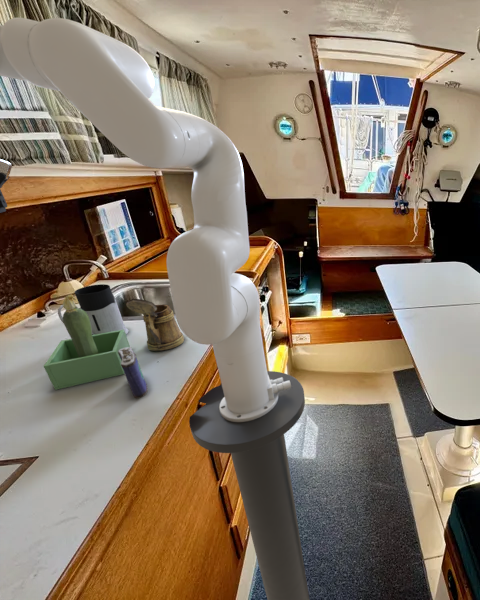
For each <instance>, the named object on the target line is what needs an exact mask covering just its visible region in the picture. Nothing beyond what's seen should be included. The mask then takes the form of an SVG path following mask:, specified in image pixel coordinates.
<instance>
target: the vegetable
mask: <svg viewBox="0 0 480 600" xmlns="http://www.w3.org/2000/svg"><path fill="white" fill-rule="evenodd" d="M76 299H77V298H76V297H74V295H73V294H72V293H70V294H68V295H66V296H64V299H63V301H62V305H63V309H64V310H65V311H64V312H63V314H62V317H63V322H62V324H63V325H64V327H65V328H66V331H67V333H68V335H69V337H70V339H72V341H73V343H74V346H75V348H76V351H77V354H78V356H79V358H80V357H85V356H90V355H95V354H99V353H98V350H97V347H96V345H95V343H94V340H93V337H92V332H91V324H90V319H89V317H88V315H87V313H86V312H85V311H84V310H82V309H80V308H81V307H77V308H76V306H77V304H76V302H75V301H76Z"/></svg>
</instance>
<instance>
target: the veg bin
mask: <svg viewBox="0 0 480 600" xmlns="http://www.w3.org/2000/svg"><path fill="white" fill-rule="evenodd" d="M92 337H93V340H94V343H95V345H96V347H97V350H98V353H99V354H95V355H90V356H85V357H80V358H79V356H78V354H77V351H76V348H75V346H74V343H73V341H72V339H71V338H67V339H62V340H60V342H59V343H58V344H57V346H56V348H55V349H54V350H53V352H52V353H51V355H50V356H49V357H48V359H47V360H46V362H45V363H44V365H43V368H44V370H45V373H46V375H47V377H48V379H49V380H50V382H51V385H52V386H53V388H54V390H55V391H57V390H61V389H65V388H69V387H73V386H78V385H82V384H87V383H91V382H96V381H100V380H105V379H109V378H114V377H117V376H121V375H125V373H124V370H123V368H122V366H121V362H122V361H121V358H120V356H119V354H118V350H120V349H122V348H125V347H131V345H130V342H129V338H128V336H127V334H125V331H124V330H118V331H113V332H107V333H101V334H96V335H92Z"/></svg>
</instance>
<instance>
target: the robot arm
mask: <svg viewBox="0 0 480 600" xmlns="http://www.w3.org/2000/svg"><path fill="white" fill-rule="evenodd" d="M0 77H5V78H10V79H13V80H19V81H25V82H28V83H30V84H32V85H34V86H35V87H38V88H42V89H48V90H52V91H57V92H60V93H61V95H62V96H63V97H65V99H66V100H68V101H69V103H71V105H73V107H74V108H75V109H76V110H77V111H78V112H79V113H81V115H83V117H85V118H86V119H87V120H88V121H89V122H90V123H91V124H92V125H93V126H94V127H95V128H96V129H97V131H98V132H100V133H101V134H102V135H103V136H104V137H105V138H106V139H107V140H108V141H109V142H110V143H111V144H112V145H113V146H115V147H116V149H118V150H119V151H120V152H121V153H122V154H124V155H125V156H127V157H128V158H129V159H131V160H132V161H134V162H135V163H138V164H140V165H142V166H145V167H148V168H152V169H177V168H190V169H191V170H192V172H193V180H192V185H191V190H190V191H191V193H190V195H191V196H190V198H191V205H192V211H193V228H192V229H189V230H187V231H184V232H183V233H181V234H178V235H177V237H175V238H174V240H172V241H171V243H170V246H169V247H168V250H167V253H166V270H167V271H166V272H167V277H168V283H169V288H170V293H171V299H172V305H173V310H174V311H173V312H174V317H175V320H176V323H177V325H178V327H179V329H180V331H181V332H182V334H184V335H185V336H186V337H187V338H188V339H189V340H191V341H192V342H193V343H197V344H198V345H199V344H200V345H204V346H205V345H207V346H210V345H212V349H213V353H214V358H215V362H216V366H217V371H218V375H219V379H220V383H221V384H220V385H222V388H223V392H224V396H225V397H224V398H223V399H222V400H221V402H220V406H219V409H220V413H221V416H222V417H223V418H225V419H226V420H229V421H232V422H246V421H251V420H254V419H257V418H259V417H261V416H263V415H265V414H266V413H268V412H269V411H270V410H271V409H273V408H274V406H275V405H276V403H277V401H278V391H282V390H286V389H289V388H291V383H290V381H285V382H283V378H282V377H281V378H278V379H275V380H270V379H269V376H268V373H267V371H268V367H267V363H266V356H265V350H264V349H265V348H264V343H263V341H264V340H263V335H262V328H261V313H260V312H261V309H260V307H261V306H260V304H261V303H260V296H259V291H258V288H257V286H256V285H255V284H254V282H253V281H252V280H251V279H250V278H249V277H247V276H246V275H243V274H241V273H237V271H238V270H239V269H240V268H242V267H243V266H245V264H246V263H247V261H248V259H249V258H250V252H251V249H250V238H249V236H250V235H249V226H248V225H249V223H248V211H247V205H246V202H247V201H246V192H245V191H246V190H245V173H244V167H243V162H242V159H241V156H240V153H239V151H238V149H237V147H236V145H235V144H234V142H233V141H232V140H231V138H229V136H228V135H227V134H226V133H225V132H224V131H222V130H221V128H219V127H218V126H216V125H215V124H213V123H212V122H210V121H209V120H207V119H204V118H202V117H200V116H198V115H196V114H192V113H190V112H186V111H182V110H178V109H173V108H169V107H164V106H160V105H155V104H154V103H153V102H152V100H150V98H151V97H152V96H153V93H154V91H155V77H154V74H153V71H152V69H151V67H150V65H149V64H148V62H147V61H146V59H144V57H143V56H142V55H141V54H140V53H139V52H138V51H137V50H135V49H134V48H133V47H131V46H129V45H128V44H126V43H125V42H123V41H120V40H119V39H117V38H115V37H112V36H110V35H108V34H106V33H103V32H101V31H100V30H99V31H98V30H96V29H95V28H92V27H90V26H88V25H85V24H83V23H80V22H78V21H75V20H72V19H68V18H62V17H50V18H46V19H42V20H41V21H39V20H34V19H29V18H25V17H13V18H10V19H7V20H6V21H5V23H4V24H0ZM12 168H13V165H12V163H11V162H9V161H7V160H4V159H1V158H0V213H1V214H2V213H5V212H6V211H7V208H8V203H7V201H6V199H5V196H4V195H3V192H2V189H1V188H3V186H4V185H5V183H7V182H8V180H9V179H10V174H11V171H12Z"/></svg>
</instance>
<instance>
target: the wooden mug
mask: <svg viewBox="0 0 480 600" xmlns="http://www.w3.org/2000/svg"><path fill="white" fill-rule="evenodd" d="M125 305H126V307H127V308H128V309H129V310H130V311H132V312H134V313H137V314H141V315H143V317H142V318H143V322H144V324H145V331H146V337H147V340H146V345H147V350H149V351H153V352H163V351H169V350H172V349H176V348H177V347H179V346H181V345H182V344H183V343H184V341H185V337H184V335H183V334H184V333H183V332H182V331H181V329H180V327H179V324H178V322H177V319H176V317H175V312H174V311H173V309H171V307H170V305H168V304H155V303H154V302H152V301H151V300H150V301H149V300H145V299H140V298H131V299H129V300H128V301H126V303H125Z"/></svg>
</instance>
